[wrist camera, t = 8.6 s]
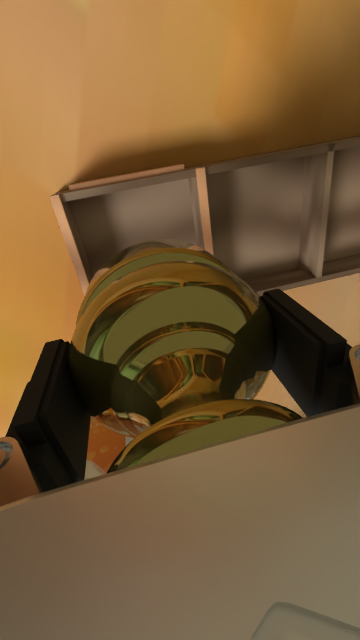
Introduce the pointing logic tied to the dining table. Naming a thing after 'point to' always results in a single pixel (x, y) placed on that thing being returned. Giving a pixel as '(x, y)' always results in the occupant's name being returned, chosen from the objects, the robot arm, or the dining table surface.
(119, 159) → the dining table surface
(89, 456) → the small box
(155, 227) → the wooden compartment tray
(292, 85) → the dining table surface
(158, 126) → the dining table surface
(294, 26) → the dining table surface
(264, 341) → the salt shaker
